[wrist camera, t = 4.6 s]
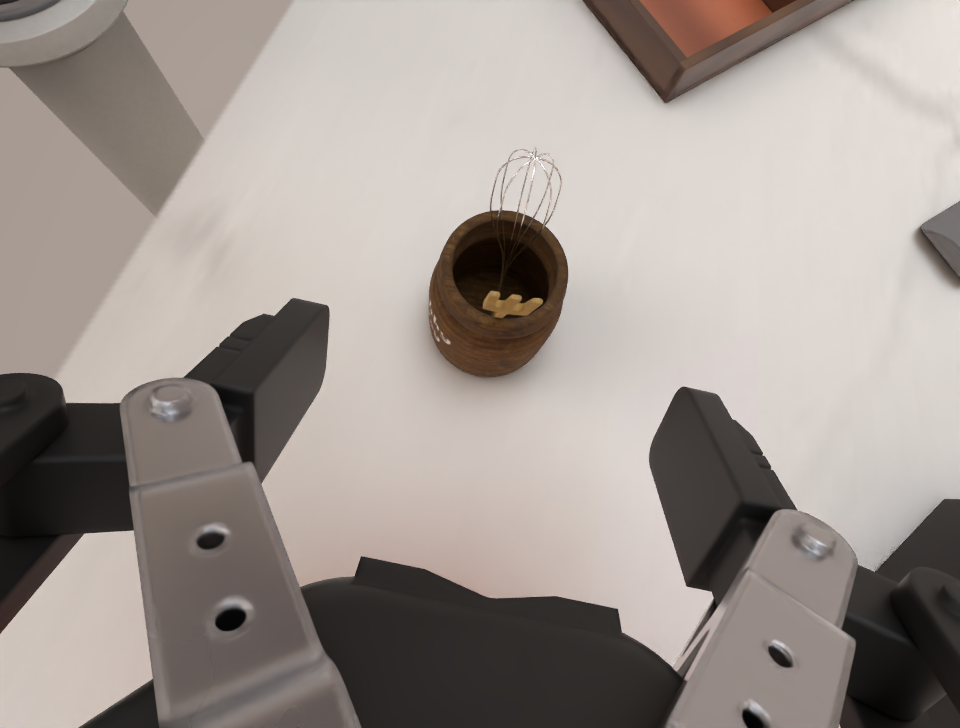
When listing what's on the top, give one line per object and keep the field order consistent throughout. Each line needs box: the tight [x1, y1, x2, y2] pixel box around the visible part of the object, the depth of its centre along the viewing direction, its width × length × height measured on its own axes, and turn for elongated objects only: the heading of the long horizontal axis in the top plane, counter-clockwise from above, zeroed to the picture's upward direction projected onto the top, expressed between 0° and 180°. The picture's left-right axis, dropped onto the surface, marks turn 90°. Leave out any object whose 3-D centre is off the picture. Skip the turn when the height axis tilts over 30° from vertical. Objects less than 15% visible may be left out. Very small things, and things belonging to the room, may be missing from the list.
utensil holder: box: [429, 147, 568, 377], centre depth 21 cm, size 6×6×12 cm
